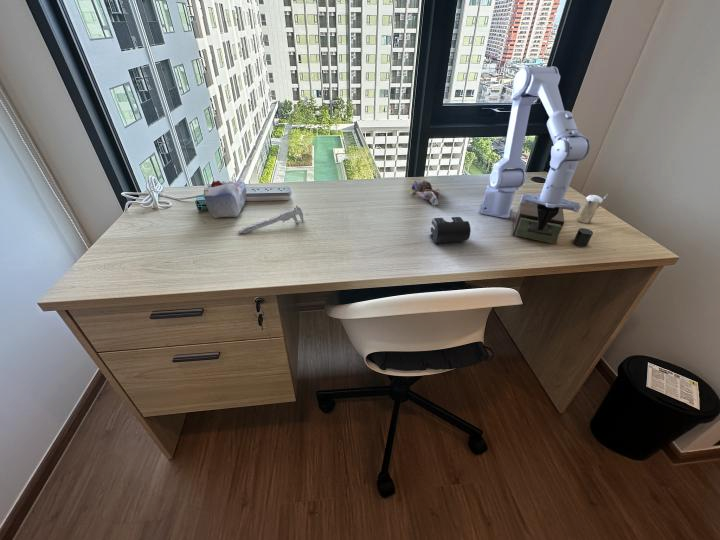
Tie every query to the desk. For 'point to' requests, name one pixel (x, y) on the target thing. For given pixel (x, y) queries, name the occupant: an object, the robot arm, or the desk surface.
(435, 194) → the warrior figurine
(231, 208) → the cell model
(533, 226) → the drawer
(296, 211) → the caliper
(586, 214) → the milkshake
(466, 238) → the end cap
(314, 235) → the desk surface
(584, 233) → the cylinder
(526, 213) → the cabinet
